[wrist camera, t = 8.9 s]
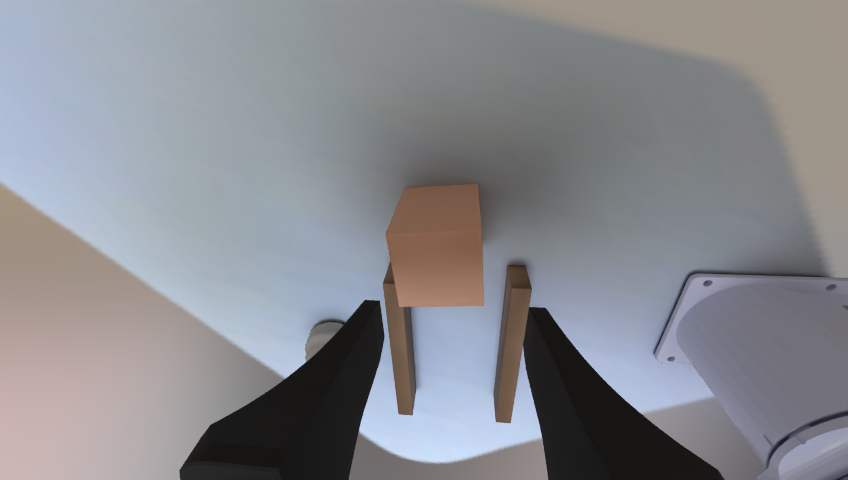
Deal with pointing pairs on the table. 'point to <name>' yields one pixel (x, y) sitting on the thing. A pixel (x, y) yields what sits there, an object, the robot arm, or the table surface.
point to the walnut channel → (507, 354)
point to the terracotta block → (437, 247)
